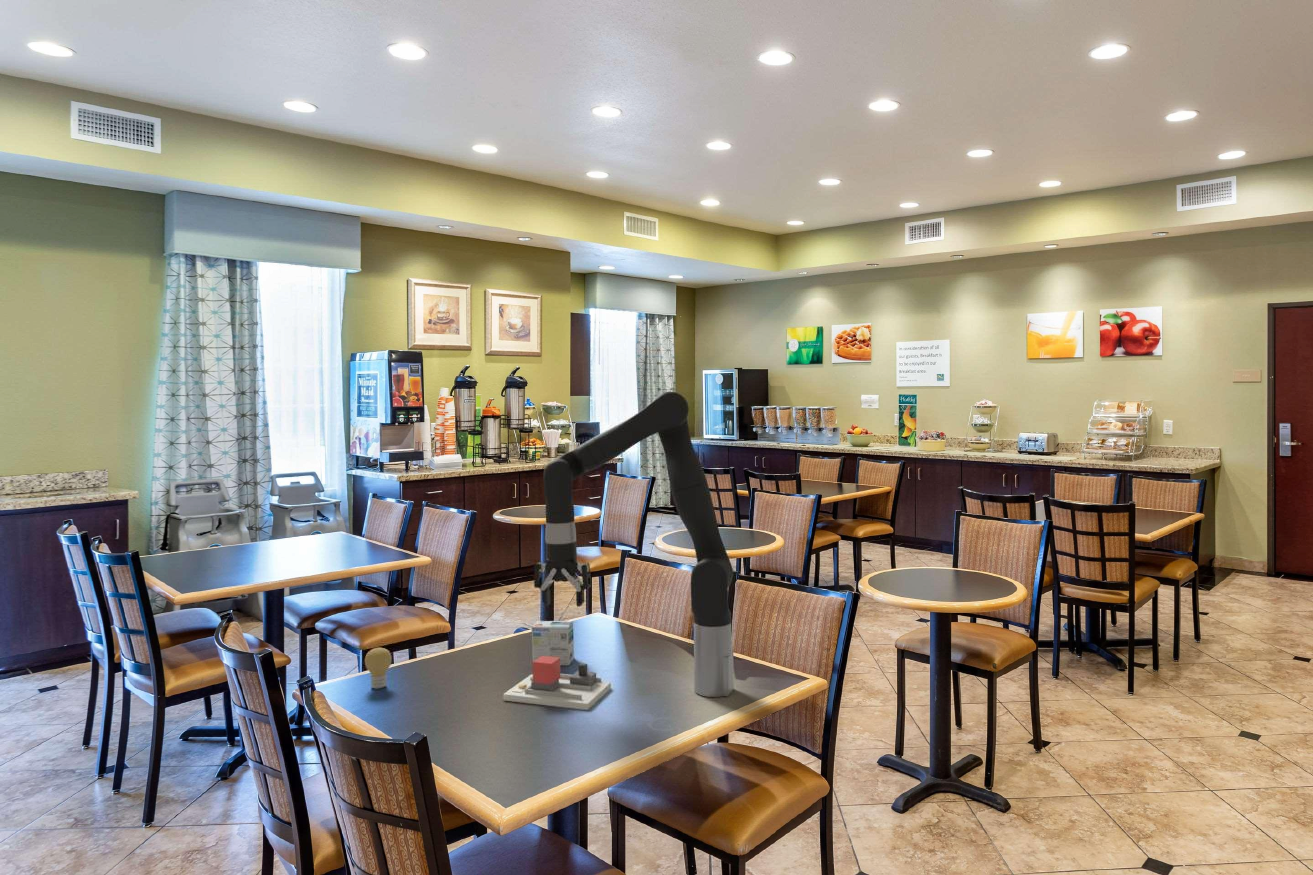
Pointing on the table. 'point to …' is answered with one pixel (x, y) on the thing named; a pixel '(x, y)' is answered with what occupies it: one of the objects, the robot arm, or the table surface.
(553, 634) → the light bulb box
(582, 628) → the table surface
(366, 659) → the light bulb
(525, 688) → the panel
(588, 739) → the table surface
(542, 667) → the cap
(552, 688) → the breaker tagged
